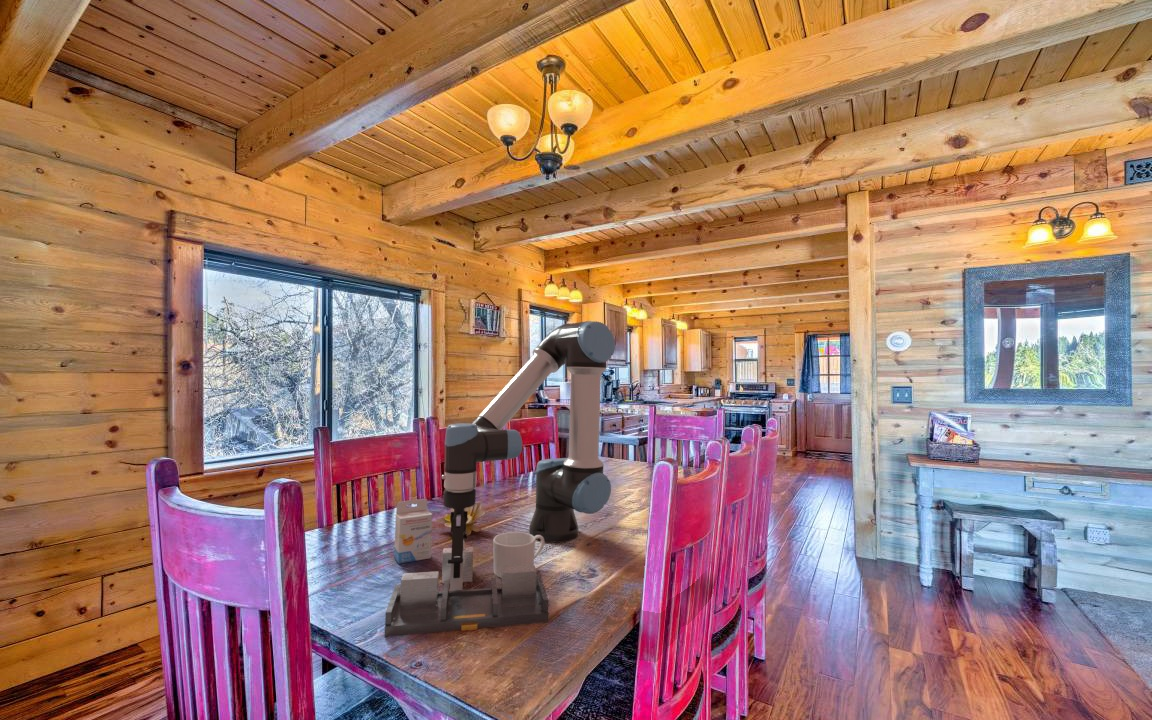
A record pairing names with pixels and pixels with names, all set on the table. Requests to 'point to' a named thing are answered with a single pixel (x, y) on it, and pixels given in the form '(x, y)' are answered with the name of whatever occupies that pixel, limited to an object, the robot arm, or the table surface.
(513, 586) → the rack
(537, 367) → the robot arm
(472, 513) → the decorative flower
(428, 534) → the ink box
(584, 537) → the table surface
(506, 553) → the mug
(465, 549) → the panel
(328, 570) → the table surface
